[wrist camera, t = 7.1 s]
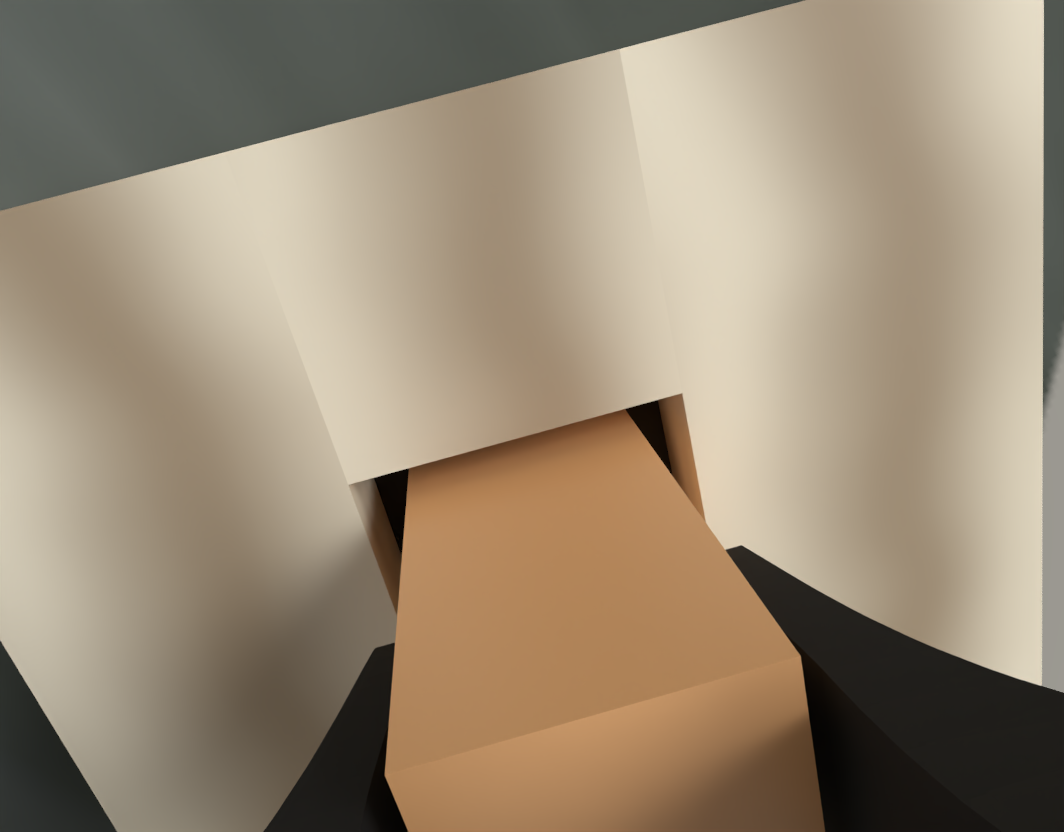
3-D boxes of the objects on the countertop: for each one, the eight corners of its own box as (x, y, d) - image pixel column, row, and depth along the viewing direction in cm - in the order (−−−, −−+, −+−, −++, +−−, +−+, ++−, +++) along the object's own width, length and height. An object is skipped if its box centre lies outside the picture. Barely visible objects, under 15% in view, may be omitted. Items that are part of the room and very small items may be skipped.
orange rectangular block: (467, 616, 16) (495, 1040, 8) (410, 446, 14) (384, 774, 7) (650, 564, 16) (840, 938, 8) (612, 392, 15) (801, 655, 7)
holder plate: (249, 921, 18) (227, 1012, 16) (-123, 250, 12) (-227, 269, 10) (979, 710, 18) (1041, 775, 16) (953, -32, 12) (1043, -62, 11)
